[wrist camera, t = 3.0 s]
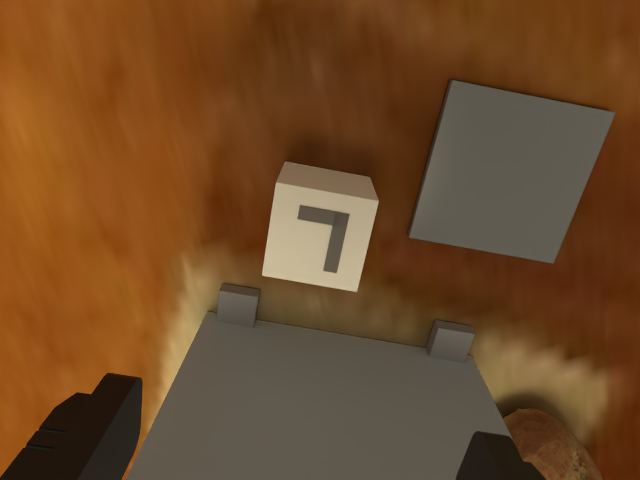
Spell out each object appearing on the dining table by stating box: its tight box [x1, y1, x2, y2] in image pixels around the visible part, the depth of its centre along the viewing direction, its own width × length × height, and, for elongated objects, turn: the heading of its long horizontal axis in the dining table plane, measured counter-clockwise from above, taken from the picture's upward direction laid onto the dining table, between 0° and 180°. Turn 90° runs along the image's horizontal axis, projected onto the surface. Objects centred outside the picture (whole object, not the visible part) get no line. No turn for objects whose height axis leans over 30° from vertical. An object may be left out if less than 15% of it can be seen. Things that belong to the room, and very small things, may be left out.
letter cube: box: [262, 161, 379, 292], centre depth 25 cm, size 5×5×5 cm
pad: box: [407, 80, 615, 263], centre depth 26 cm, size 9×9×1 cm
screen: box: [126, 283, 523, 480], centre depth 24 cm, size 18×6×14 cm, turn 80°
